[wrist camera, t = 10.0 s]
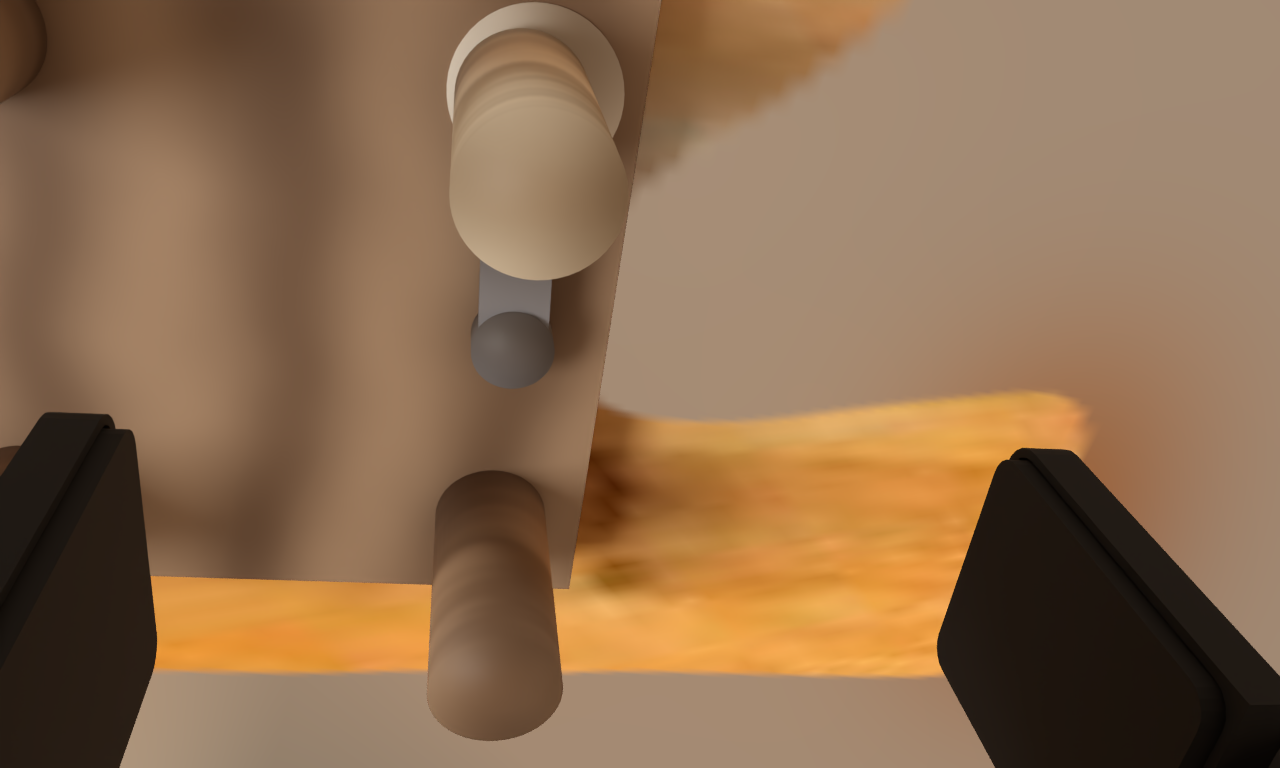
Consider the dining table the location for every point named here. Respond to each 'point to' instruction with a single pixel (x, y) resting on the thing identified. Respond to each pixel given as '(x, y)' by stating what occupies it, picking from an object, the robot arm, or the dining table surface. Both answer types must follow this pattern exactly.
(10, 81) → the stool
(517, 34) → the hinged leg
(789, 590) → the dining table surface
